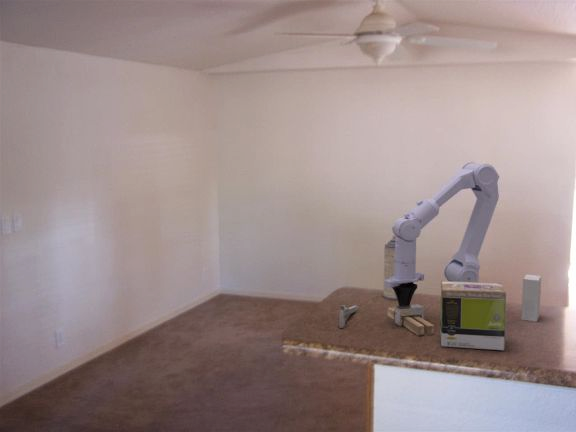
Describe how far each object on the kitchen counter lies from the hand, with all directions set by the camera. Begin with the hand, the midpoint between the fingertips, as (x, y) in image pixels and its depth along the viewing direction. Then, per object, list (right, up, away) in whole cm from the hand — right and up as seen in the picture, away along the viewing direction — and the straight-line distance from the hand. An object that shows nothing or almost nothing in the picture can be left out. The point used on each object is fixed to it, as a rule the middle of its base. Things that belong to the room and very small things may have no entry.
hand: (404, 309), depth 168 cm
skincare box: (+36, -3, +3) cm, 37 cm away
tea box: (+13, -6, -17) cm, 22 cm away
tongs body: (+1, -4, -3) cm, 5 cm away
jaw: (0, -4, -5) cm, 7 cm away
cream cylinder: (+2, 0, +25) cm, 25 cm away
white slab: (+1, -4, -2) cm, 5 cm away
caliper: (-15, -4, +4) cm, 16 cm away
